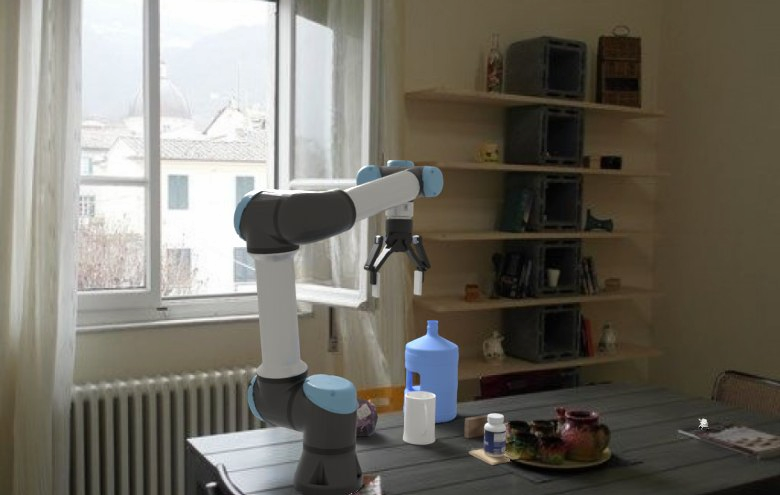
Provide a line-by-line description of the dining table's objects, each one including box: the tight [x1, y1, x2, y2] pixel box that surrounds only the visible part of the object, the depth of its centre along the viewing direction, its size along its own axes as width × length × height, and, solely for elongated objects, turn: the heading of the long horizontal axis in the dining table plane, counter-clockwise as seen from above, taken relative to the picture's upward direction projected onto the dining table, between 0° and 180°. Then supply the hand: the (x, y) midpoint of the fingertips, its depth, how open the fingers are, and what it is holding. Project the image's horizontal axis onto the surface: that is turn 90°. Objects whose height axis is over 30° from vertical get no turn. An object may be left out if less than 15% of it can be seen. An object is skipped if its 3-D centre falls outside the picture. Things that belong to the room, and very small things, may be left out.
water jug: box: [402, 319, 460, 424], centre depth 222 cm, size 16×16×28 cm
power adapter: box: [698, 418, 709, 429], centre depth 218 cm, size 3×3×3 cm
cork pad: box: [468, 448, 511, 466], centre depth 190 cm, size 9×9×1 cm
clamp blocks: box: [463, 414, 509, 439], centre depth 203 cm, size 9×10×5 cm
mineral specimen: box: [356, 398, 379, 437], centre depth 204 cm, size 10×10×10 cm
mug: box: [402, 391, 436, 446], centre depth 199 cm, size 12×8×12 cm
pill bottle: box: [483, 412, 507, 457], centre depth 189 cm, size 5×5×10 cm
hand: (397, 295), depth 208 cm, fingers open, 13 cm apart
